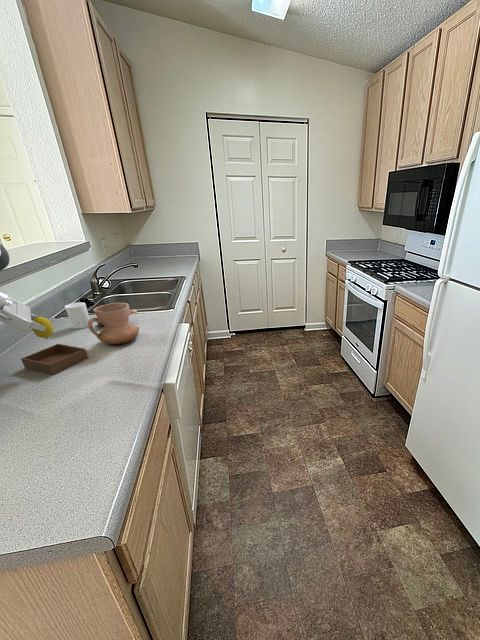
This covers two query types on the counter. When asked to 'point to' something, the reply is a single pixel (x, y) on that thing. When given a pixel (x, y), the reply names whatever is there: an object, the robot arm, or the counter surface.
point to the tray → (54, 358)
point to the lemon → (47, 324)
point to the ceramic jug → (114, 323)
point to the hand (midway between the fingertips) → (44, 326)
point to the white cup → (78, 314)
